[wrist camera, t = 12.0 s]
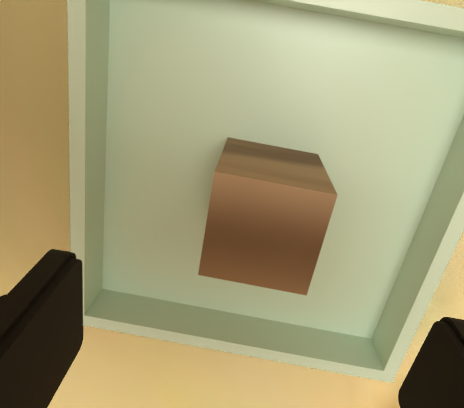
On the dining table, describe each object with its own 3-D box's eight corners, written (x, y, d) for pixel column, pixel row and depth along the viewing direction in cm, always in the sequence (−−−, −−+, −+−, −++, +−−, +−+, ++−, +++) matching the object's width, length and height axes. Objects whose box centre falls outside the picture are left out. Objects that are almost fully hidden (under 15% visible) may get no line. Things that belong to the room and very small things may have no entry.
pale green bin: (101, -44, 18) (66, -63, 15) (507, 28, 18) (559, 25, 15) (95, 288, 26) (71, 323, 23) (376, 341, 26) (392, 383, 23)
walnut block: (227, 137, 20) (214, 171, 15) (318, 154, 20) (337, 194, 15) (214, 218, 22) (197, 274, 17) (296, 233, 22) (306, 295, 17)
